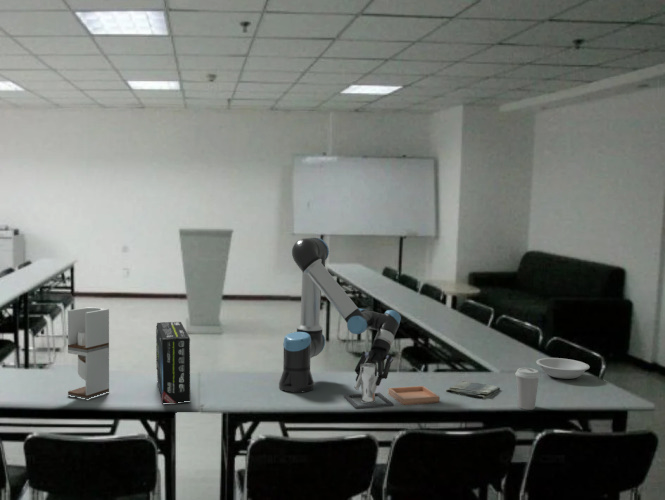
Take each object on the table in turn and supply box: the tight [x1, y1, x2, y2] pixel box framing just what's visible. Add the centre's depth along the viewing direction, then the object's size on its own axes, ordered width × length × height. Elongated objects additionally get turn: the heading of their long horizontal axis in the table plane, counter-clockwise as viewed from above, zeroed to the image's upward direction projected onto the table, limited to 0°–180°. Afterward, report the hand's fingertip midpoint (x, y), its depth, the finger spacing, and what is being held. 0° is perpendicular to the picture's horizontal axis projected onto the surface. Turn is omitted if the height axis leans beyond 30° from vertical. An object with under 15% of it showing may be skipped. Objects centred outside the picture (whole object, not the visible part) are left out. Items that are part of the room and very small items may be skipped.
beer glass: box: [360, 363, 378, 405], centre depth 256 cm, size 7×7×15 cm
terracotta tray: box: [387, 385, 440, 406], centre depth 262 cm, size 16×16×2 cm
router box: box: [155, 321, 191, 404], centre depth 263 cm, size 36×11×27 cm, turn 20°
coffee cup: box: [514, 367, 541, 411], centre depth 253 cm, size 10×10×15 cm
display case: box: [67, 306, 110, 399], centre depth 256 cm, size 11×11×35 cm
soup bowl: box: [535, 357, 591, 380], centre depth 301 cm, size 24×24×7 cm
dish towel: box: [445, 380, 501, 400], centre depth 274 cm, size 19×18×3 cm
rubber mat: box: [342, 392, 395, 410], centre depth 256 cm, size 16×16×1 cm
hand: (364, 390), depth 253 cm, fingers closed on beer glass, 6 cm apart
